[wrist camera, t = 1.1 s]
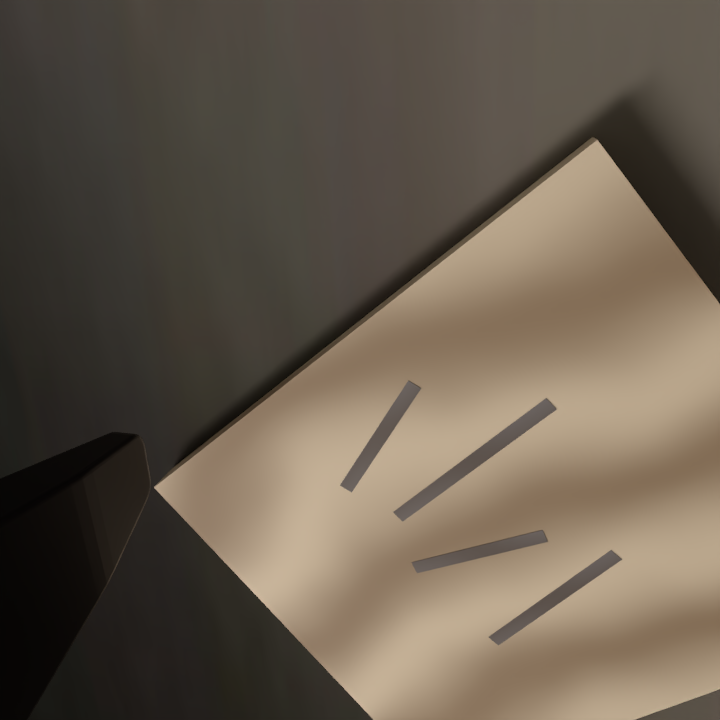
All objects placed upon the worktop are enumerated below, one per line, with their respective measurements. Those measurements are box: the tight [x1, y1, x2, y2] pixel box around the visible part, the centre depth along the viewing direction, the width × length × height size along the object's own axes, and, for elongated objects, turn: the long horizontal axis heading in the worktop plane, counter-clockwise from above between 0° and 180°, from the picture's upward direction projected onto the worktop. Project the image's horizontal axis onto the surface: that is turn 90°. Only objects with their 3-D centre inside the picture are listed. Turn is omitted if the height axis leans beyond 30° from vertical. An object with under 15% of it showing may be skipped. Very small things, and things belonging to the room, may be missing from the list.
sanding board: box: [154, 137, 720, 720], centre depth 24 cm, size 18×20×2 cm
